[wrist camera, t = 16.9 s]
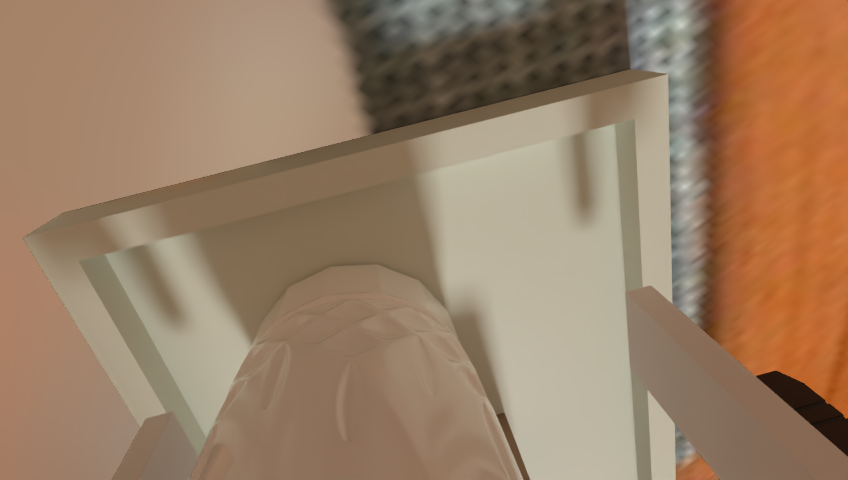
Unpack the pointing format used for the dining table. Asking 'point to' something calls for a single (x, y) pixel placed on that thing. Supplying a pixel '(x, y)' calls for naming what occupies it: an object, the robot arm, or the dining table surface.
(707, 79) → the dining table surface
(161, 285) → the tray
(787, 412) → the robot arm
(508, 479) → the white cup
